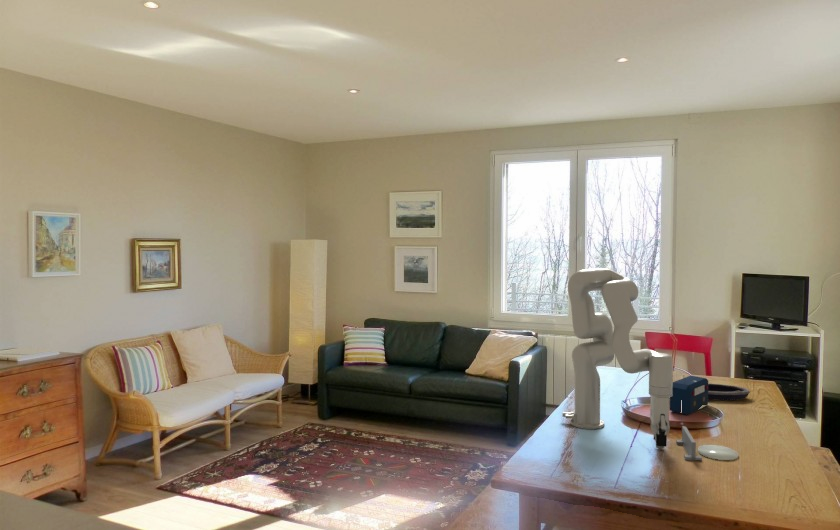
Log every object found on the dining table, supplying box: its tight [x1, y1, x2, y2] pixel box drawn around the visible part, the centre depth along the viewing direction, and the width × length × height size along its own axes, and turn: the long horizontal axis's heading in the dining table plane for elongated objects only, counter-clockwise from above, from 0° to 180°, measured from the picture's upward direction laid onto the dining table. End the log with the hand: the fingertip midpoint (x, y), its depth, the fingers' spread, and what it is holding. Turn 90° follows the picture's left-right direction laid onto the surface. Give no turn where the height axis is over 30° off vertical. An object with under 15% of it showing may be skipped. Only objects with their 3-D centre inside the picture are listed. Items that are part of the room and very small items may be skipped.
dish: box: [708, 383, 751, 401], centre depth 263 cm, size 16×31×5 cm, turn 73°
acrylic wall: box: [675, 425, 703, 462], centre depth 198 cm, size 5×16×6 cm, turn 166°
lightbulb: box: [650, 421, 671, 450], centre depth 200 cm, size 6×6×11 cm
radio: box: [669, 375, 709, 416], centre depth 244 cm, size 21×9×20 cm, turn 131°
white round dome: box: [697, 444, 739, 461], centre depth 196 cm, size 12×12×1 cm
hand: (659, 442), depth 201 cm, fingers closed on lightbulb, 4 cm apart
